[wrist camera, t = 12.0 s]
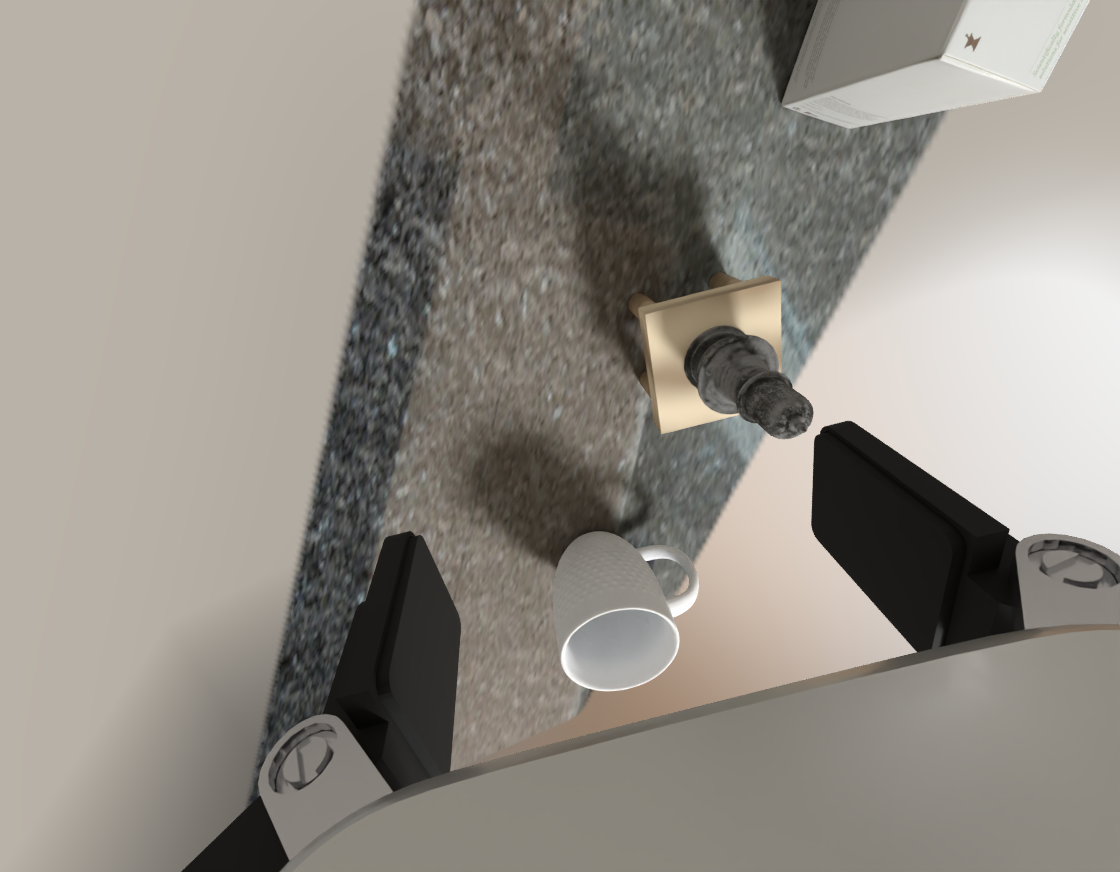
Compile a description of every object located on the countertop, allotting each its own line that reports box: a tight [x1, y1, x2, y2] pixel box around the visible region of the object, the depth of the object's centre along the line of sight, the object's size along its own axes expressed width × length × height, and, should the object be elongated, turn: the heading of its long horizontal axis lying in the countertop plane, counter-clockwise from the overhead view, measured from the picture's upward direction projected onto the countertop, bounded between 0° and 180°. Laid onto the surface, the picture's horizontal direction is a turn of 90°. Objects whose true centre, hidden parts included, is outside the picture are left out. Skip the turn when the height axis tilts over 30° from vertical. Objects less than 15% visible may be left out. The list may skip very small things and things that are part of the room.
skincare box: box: [782, 0, 1090, 129], centre depth 29 cm, size 8×7×16 cm
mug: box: [553, 531, 699, 691], centre depth 50 cm, size 15×11×13 cm
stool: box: [628, 273, 781, 434], centre depth 41 cm, size 10×10×8 cm
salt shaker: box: [684, 325, 813, 439], centre depth 32 cm, size 6×6×12 cm
